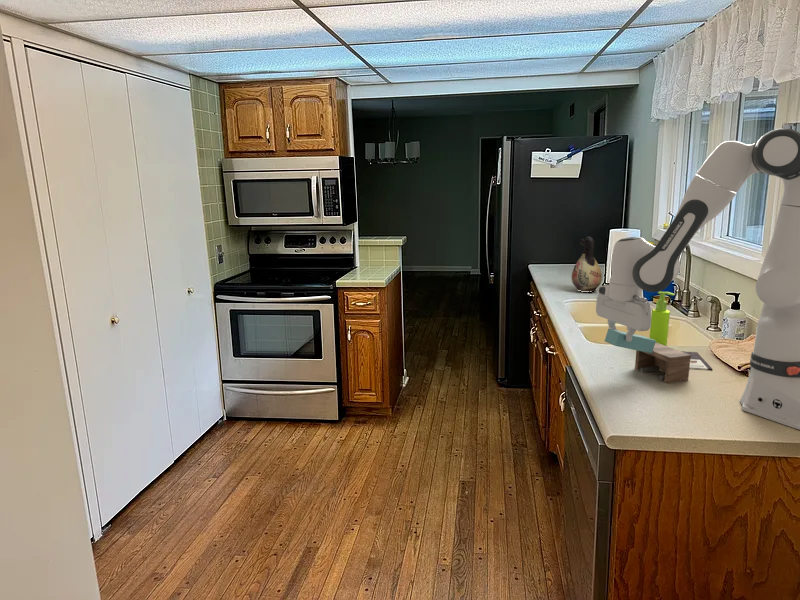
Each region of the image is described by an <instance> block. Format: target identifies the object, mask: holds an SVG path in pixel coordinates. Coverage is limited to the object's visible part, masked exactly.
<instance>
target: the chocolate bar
mask: <svg viewBox="0 0 800 600" xmlns="http://www.w3.org/2000/svg"><path fill="white" fill-rule="evenodd" d="M680 351H681V350H680ZM681 352H684V353H686V354H689V355H691V358H690V368H689V370H700V371H701V370H703V371H713V368H712V367H711V365H710V364H709V363H708V362H707V361H706V360H705V359H704V357H702V356H701V355H700V354H699V352H696V351H684V350H683V351H681Z"/></svg>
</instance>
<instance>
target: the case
mask: <svg viewBox="0 0 800 600" xmlns="http://www.w3.org/2000/svg"><path fill="white" fill-rule="evenodd" d="M617 330H618V329H617ZM617 330H613V329H609V328H608V329H607V331H606V335H605V338H604V342H605V343H608V344H609V345H612V346H615V347H618V348H624V349H629V350H632V351H633V350H634V351H636V350H638V351H643V352H648V353H652V352H653V349H654V346H655V343H656V340H653V339H650V337H647V336H644V335H640V334H636V333H634V334H633V335H632V341H629V342H627V341H625V340H624V335H625V334H627V332H628V331H627V332H626V331H622V330H618V331H617Z"/></svg>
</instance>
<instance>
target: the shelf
mask: <svg viewBox="0 0 800 600" xmlns="http://www.w3.org/2000/svg"><path fill="white" fill-rule="evenodd" d="M635 352H636V353H635V363H634V369H635V370H636V371H639V370H640V372H641V373H646V372H654V371H661V372H662V373H665V374H663V375H658V380H659V381H664V383H666V384H672V383H680V382H688V381H689V376H690V369H689V368H690V358H691V355H689V354H686V353H684V352H681V350H678V349H676V348H672V347H669V346H665V345H662V344H659V343H655V346H654V349H653V352H652V353H648V352H643V351H638V350H635Z"/></svg>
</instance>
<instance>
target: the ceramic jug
mask: <svg viewBox="0 0 800 600" xmlns="http://www.w3.org/2000/svg"><path fill="white" fill-rule="evenodd" d="M579 244H580V245H582V246H583V253H582V254H581V256H580V257H579V258H578V260H577V262H576V263H575V265H574V267H573V269H572V272H571V282H572V284H573V286H574V287H575V288H576V290H577V289H578V290H581V291H589V292H590V291H596V292H597V289H598V287H599V286H601V285H600V284H601V282H602V280H603V275H602V273H603V272H602V270H601V267H600V265H599V263H598V262H597V260H596V258H595V257H594V250H595V249H594V248H595V241H594V239H593V237H592V236H586V237H585V238H581V239H580V240H579ZM578 290H577V291H578Z"/></svg>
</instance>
